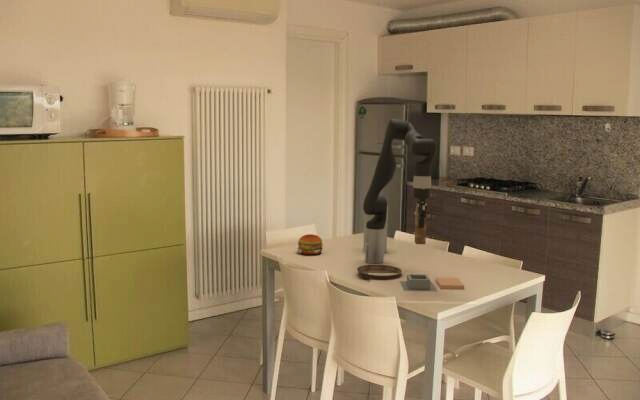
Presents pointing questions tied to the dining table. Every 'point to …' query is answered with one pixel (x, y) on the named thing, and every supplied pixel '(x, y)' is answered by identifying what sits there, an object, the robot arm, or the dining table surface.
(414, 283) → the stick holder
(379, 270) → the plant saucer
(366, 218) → the cylinder vase
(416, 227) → the wooden stick
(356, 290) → the dining table surface
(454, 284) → the tile
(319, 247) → the burger
